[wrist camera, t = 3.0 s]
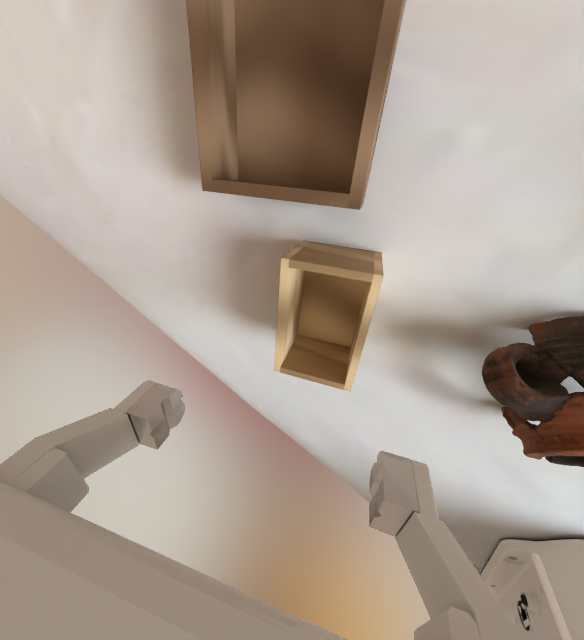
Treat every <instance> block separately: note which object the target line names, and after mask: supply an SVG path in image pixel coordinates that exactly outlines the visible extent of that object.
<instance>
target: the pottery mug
mask: <svg viewBox="0 0 584 640" xmlns="http://www.w3.org/2000/svg"><path fill="white" fill-rule="evenodd" d="M529 331H530V333H531V334H532V335H533V341H534V343H535V346H534V345H531V344H527V343H516V344H511V345H509V346H507V347H502V348H498V349H496V350H495V351H493V352H491V353H490V354H489V355H488V356H487V357H486V359H485V362H484V364H483V367H482V376H483V380H484V383H485V385H486V387H487V389H488V391H489V392H490V394H491V395H492V396H493V397H494V398H495V399H496V400H497V401H498V402H500V403H501V404H503V405H505V407H502V408H501V409H502V412H503V417H504V418H505V419H506V420H507V422H508V424H509V425H510V426H511V428H512V429H513V431H512V433H513V435H515V436H517V437H518V438H520V439H521V440H522V443H523V446H524V449H523V453H524V454H525V455H526V456H527V457H530V458H536V459H539V460H540V459H541V458H542V457H545V458H546V459H547V460H548V461H549V462H551V463H555V464H561V465H569V466H580V467H584V392H574V393H571V394H568V391H567V389H566V388H565V387H564V386H562V385H561V384H560V383H561V382H562V381H563V380H564V379H566V378H567V377H568V376H570V377H573V378H574V379H575V380H576V381H577V382H578V383H579V384H580V385H581V386H582V387H583V388H584V316H582V317H568V318H561V319H555V320H551V321H546V322H542V323H539V324H535V325H532V326H530V327H529ZM527 420H530V421H541V423H540V424H539V425H538V426H537V425H534V424H531V423H529V422H528V421H527Z"/></svg>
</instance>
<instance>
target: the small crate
mask: <svg viewBox="0 0 584 640" xmlns="http://www.w3.org/2000/svg"><path fill="white" fill-rule="evenodd" d="M382 279H383V264H382V253H380V252H373V251H367V250H361V249H354V248H348V247H341V246H335V245H328V244H322V243H315V242H309V241H303V242H301V243H300V244H299V245H297V246H296V247H295V248H294V249H292V250H291V251H290V252H288V253H287V254H286V255H285V256H283V257H282V258H281V269H280V285H279V300H278V316H277V332H276V347H275V363H274V371H277V372H281V373H284V374H288V375H292V376H295V377H299V378H302V379H306V380H310V381H313V382H317V383H321V384H324V385H328V386H331V387H335V388H339V389H342V390H346V391H351V387H352V384H353V380H354V377H355V373H356V370H357V366H358V363H359V359H360V356H361V352H362V349H363V345H364V342H365V338H366V335H367V331H368V328H369V324H370V321H371V317H372V314H373V310H374V307H375V303H376V300H377V296H378V293H379V289H380V286H381V282H382Z"/></svg>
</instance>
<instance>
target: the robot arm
mask: <svg viewBox="0 0 584 640" xmlns="http://www.w3.org/2000/svg"><path fill="white" fill-rule="evenodd" d="M182 397H183V395H182V392H181V390H177V389H174V388H171V387H168V386H164V385H162V384H159V383H156V382H152V381H149V380H148V381H146V382H144V383H143V384H141V385H140V386H139V387H138V388H137V389H136V390H135V391H133V392H132V393H131V394H130V395H129V396H128V397H127V398H126V399H124V400H123V401H122V402H121V403H120V404H119V405H117V406H116V407H115V408H114V409H111V408H109V409H107V410H104V411H102V412H99V413H97V414H94V415H92V416H89V417H87V418H84V419H82V420H79V421H77V422H74V423H72V424H69V425H67V426H64V427H62V428H59V429H57V430H54V431H52V432H49V433H47V434H44V435H41V436H39V437H36V438H34V439H33V440H32V441H31V442H29V443H28V444H26V445H25V446H24V447H23V448H21V449H20V450H19V451H17V452H16V453H15V454H14V455H12V456H11V457H9V458H8V459H7V460H6V461H4V462H3V463H2V464H0V640H347V639H345V638H342V637H340V636H338V635H336V634H334V633H332V632H329V631H327V630H325V629H323V628H321V627H319V626H316V625H314V624H312V623H310V622H308V621H305V620H303V619H301V618H299V617H297V616H294V615H292V614H290V613H288V612H286V611H284V610H281V609H279V608H277V607H275V606H273V605H271V604H268V603H266V602H264V601H262V600H260V599H258V598H255V597H253V596H251V595H249V594H246V593H244V592H242V591H240V590H238V589H236V588H234V587H231V586H229V585H227V584H225V583H223V582H220V581H218V580H216V579H214V578H212V577H209V576H207V575H205V574H203V573H201V572H198V571H196V570H194V569H192V568H190V567H188V566H185V565H183V564H181V563H179V562H177V561H175V560H172V559H170V558H168V557H166V556H164V555H162V554H159V553H157V552H155V551H153V550H151V549H148V548H146V547H144V546H142V545H140V544H138V543H135V542H133V541H131V540H129V539H127V538H124V537H122V536H120V535H118V534H116V533H113V532H111V531H109V530H107V529H105V528H103V527H101V526H98V525H96V524H94V523H92V522H90V521H87V520H85V519H83V518H81V517H79V516H77V515H74V514H72V513H70V512H71V511H72V510H73V509H74V508H75V507H76V506H77V504H78V503H79V502H80V501H81V500H82V499H83V498H84V497H85V496H86V494H87V493H88V492H89V487H88V485H87V484H86V482H85V481H84V478H86V477H87V476H89V475H90V474H92V473H94V472H95V471H97V470H99V469H100V468H102V467H104V466H105V465H107V464H108V463H110V462H112V461H113V460H115V459H116V458H118V457H120V456H122V455H123V454H125V453H126V452H128V451H130V450H132V449H133V448H135V447H136V446H138V445H139V444H142V445H146V446H148V447H151V448H155V449H158V448H159V447H160V446H161V445H162V443H163V442H164V441H165V440H166V438H167V437H168V436H169V432H170V429H171V428H173V427H175V426H177V425H178V423H179V422H180V421H181V419H182V417H183V415H184V412H185V405H184V403H183V402H182V400H181V398H182ZM370 492H371V494H372V496H373V498H372V500H371V502H370V527H372V528H374V529H377V530H380V531H382V532H385V533H387V534H390V535H392V536H395V537H396V538H395V539H396V541H397V543H398V545H399V548H400V550H401V552H402V554H403V557H404V559H405V561H406V563H407V566H408V568H409V570H410V572H411V575H412V577H413V579H414V582H415V584H416V586H417V588H418V591H419V593H420V595H421V597H422V599H423V602H424V604H425V606H426V609H427V611H428V613H429V615H430V618H431V620H429V621H428V622H426V623H425V624H423V625H421V626H420V627H418V628H417V629H416V630H415V632H414V640H584V540H582V539H564V540H551V541H526V540H513V539H507V540H502V541H501V542H500V543H499V545H498V546H497V548H496V550H495V551H494V553H493V555H492V556H491V558H490V560H489V562H488V563H487V565H486V567H485V568H484V570H483V572H482V573H481V575H479V573H478V572H477V570H476V569H475V567H474V566H473V564H472V563H471V561H470V560H469V558H468V557H467V555H466V554H465V552H464V551H463V549H462V548H461V546H460V545H459V543H458V542H457V541H456V539H455V538H454V536H453V535H452V533H451V532H450V530H449V529H448V527H447V526H446V524H445V523H444V522H443V521H441V520H439V519H438V514H437V509H436V504H435V499H434V494H433V489H432V484H431V479H430V474H429V469H428V467H427V465H426V464H424V463H421V462H417V461H413V460H410V459H408V458H405V457H401V456H398V455H394V454H391V453H387V452H384V451H380V452H379V453H378V455H377V462H376V463H374V465H373V467H372V470H371V475H370Z"/></svg>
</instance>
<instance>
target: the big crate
mask: <svg viewBox="0 0 584 640" xmlns="http://www.w3.org/2000/svg"><path fill="white" fill-rule="evenodd" d="M405 2H406V0H186V3H187V14H188V26H189V37H190V49H191V61H192V72H193V84H194V96H195V107H196V119H197V130H198V142H199V154H200V165H201V177H202V189H203V191H211V192H219V193H227V194H235V195H243V196H252V197H260V198H268V199H276V200H285V201H293V202H301V203H309V204H318V205H326V206H334V207H342V208H351V209H359V210H360V208H361V207H362V205H363V202H364V198H365V193H366V188H367V183H368V178H369V174H370V169H371V164H372V159H373V155H374V150H375V145H376V140H377V136H378V131H379V126H380V121H381V117H382V112H383V107H384V102H385V97H386V93H387V88H388V83H389V78H390V74H391V69H392V64H393V59H394V55H395V50H396V45H397V40H398V36H399V31H400V26H401V21H402V16H403V12H404V7H405Z"/></svg>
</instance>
